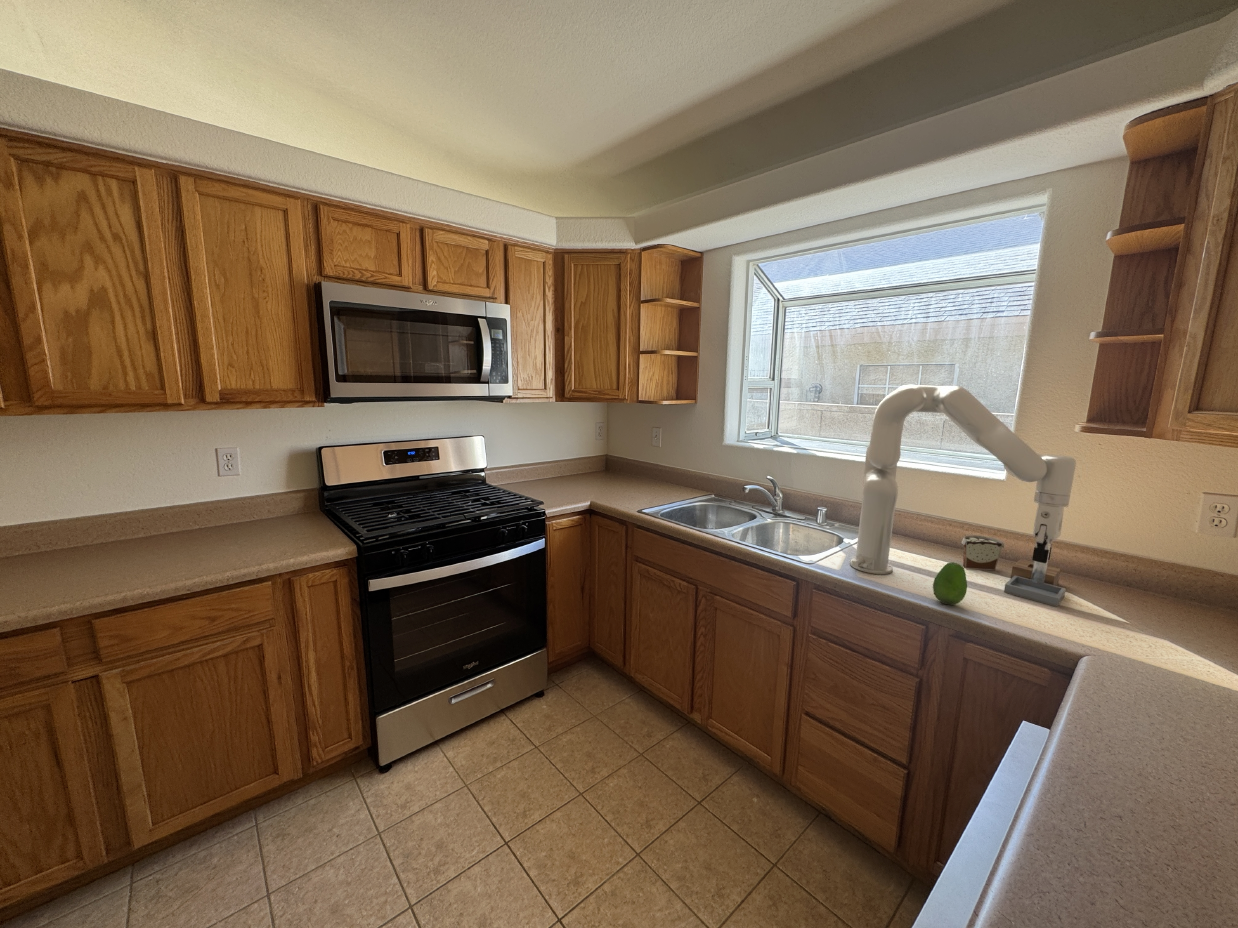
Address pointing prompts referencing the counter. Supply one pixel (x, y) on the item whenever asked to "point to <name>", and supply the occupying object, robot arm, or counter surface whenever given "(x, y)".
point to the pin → (1039, 570)
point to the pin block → (1025, 571)
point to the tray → (1035, 590)
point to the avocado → (950, 584)
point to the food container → (981, 552)
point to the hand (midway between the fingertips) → (1040, 559)
